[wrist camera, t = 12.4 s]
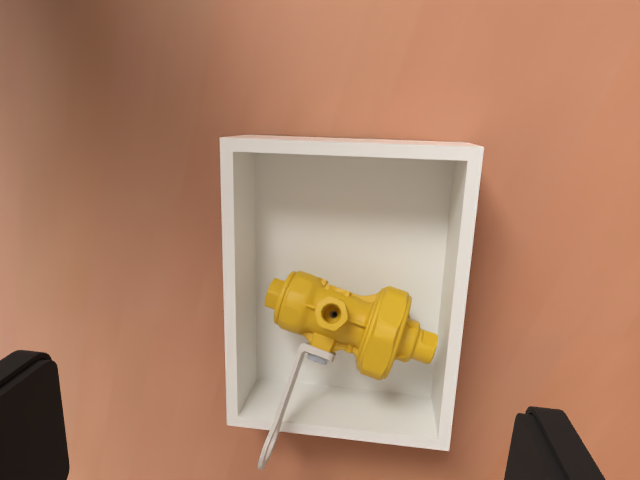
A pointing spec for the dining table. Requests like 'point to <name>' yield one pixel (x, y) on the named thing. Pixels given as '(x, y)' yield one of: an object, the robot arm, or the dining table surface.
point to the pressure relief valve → (344, 331)
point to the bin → (346, 276)
